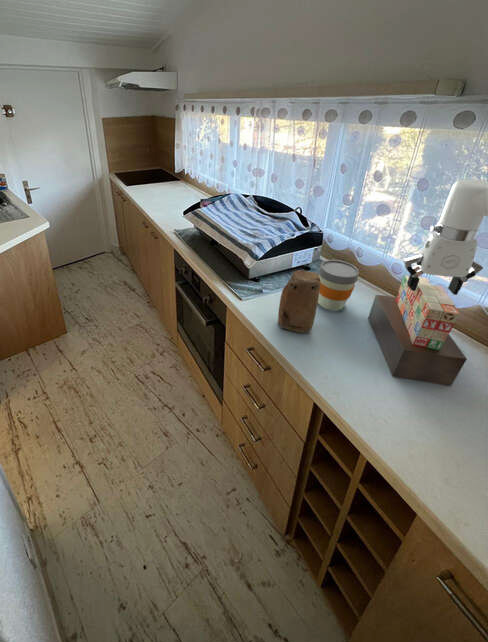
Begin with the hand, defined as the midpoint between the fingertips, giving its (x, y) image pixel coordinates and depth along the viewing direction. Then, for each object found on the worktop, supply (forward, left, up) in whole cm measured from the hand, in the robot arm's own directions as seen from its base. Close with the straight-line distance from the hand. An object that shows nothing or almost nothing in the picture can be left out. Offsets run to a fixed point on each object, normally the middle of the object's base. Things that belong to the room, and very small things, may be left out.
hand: (431, 289), depth 82 cm
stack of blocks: (0, 0, -12) cm, 12 cm away
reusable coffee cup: (+18, -19, -22) cm, 34 cm away
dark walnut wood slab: (0, 0, -22) cm, 22 cm away
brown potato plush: (+32, -3, -22) cm, 39 cm away
